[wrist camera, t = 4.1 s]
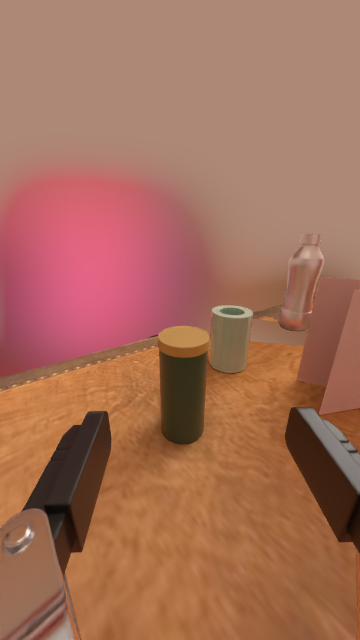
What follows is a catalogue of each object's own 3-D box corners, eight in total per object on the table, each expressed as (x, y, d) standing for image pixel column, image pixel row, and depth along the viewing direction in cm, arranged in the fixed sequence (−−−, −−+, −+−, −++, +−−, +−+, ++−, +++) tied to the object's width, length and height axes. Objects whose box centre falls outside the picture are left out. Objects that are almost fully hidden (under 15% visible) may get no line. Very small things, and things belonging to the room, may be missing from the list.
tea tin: (159, 445, 23) (156, 347, 19) (161, 410, 27) (159, 325, 23) (207, 444, 23) (213, 347, 19) (201, 410, 27) (205, 325, 23)
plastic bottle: (270, 326, 52) (285, 233, 45) (289, 321, 55) (306, 234, 48) (294, 337, 47) (316, 234, 40) (315, 331, 50) (338, 234, 43)
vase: (212, 373, 35) (216, 318, 31) (206, 354, 40) (209, 305, 37) (251, 373, 35) (258, 317, 32) (240, 353, 40) (245, 305, 37)
